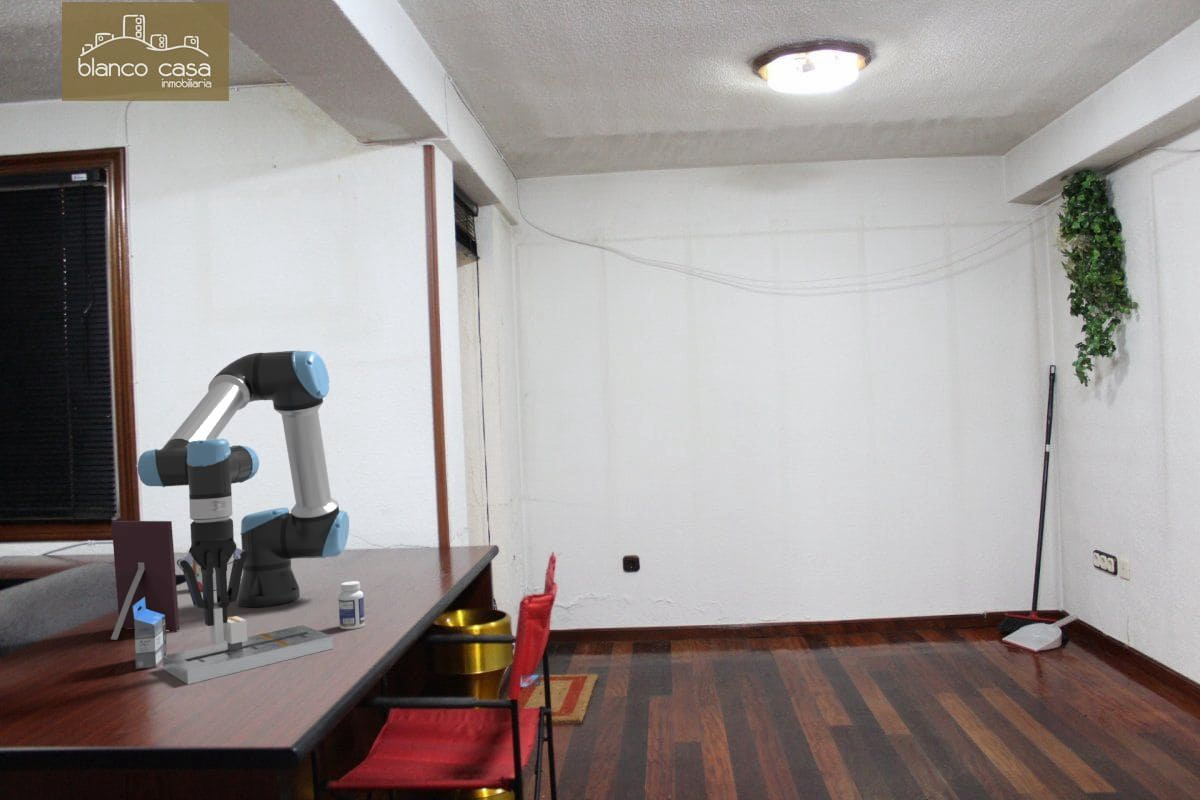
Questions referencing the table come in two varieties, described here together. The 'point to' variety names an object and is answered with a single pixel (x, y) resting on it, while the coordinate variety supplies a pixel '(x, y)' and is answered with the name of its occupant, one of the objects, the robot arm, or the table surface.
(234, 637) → the fader knob
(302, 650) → the console
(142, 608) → the label tape cartridge
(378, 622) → the table surface
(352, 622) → the pill bottle
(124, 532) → the picture frame
